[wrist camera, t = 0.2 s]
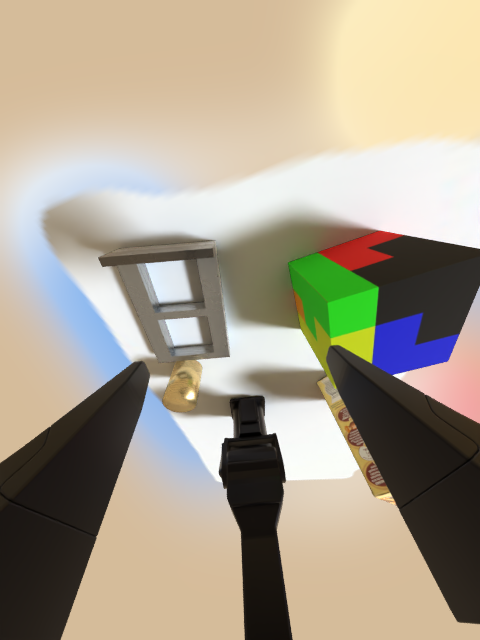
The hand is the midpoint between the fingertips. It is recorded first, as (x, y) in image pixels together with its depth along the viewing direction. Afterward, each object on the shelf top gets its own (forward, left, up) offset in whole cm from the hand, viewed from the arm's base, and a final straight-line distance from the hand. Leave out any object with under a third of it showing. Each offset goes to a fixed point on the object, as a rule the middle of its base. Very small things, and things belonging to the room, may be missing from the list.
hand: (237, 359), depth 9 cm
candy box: (-23, -17, -14) cm, 33 cm away
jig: (-4, +7, -14) cm, 16 cm away
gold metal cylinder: (-15, +9, -14) cm, 23 cm away
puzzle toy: (-3, -12, -15) cm, 19 cm away
